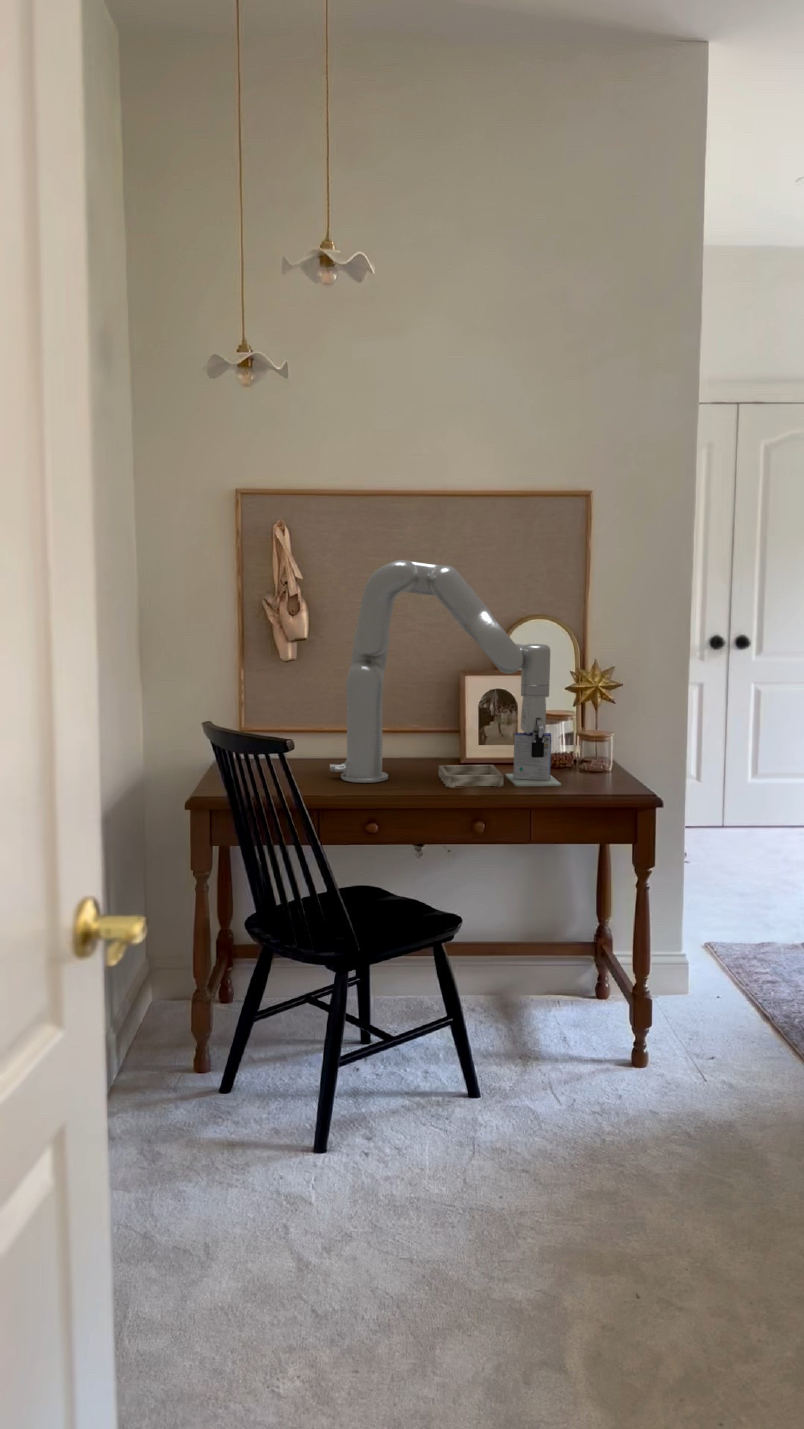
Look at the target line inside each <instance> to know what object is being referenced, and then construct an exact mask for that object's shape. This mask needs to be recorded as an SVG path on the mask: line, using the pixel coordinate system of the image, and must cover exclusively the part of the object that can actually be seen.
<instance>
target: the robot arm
mask: <svg viewBox="0 0 804 1429" xmlns="http://www.w3.org/2000/svg"><path fill="white" fill-rule="evenodd" d="M401 593H410V594H418V595H424V596H425V595H426V596H433V597H434V596H435V597H436V599H438V600H439V601H440V603H441V604H442V605H443V607H444V608H445V609H446V610H447V611H448V612H449V614H450V615H451V616H452V617H453V619H454V620H455V621H456V622H457V624H458V625H459V626H460V627H461V628H462V630H463V631H464V632H465V633H466V634H467V635H468V636H470V637H471V639H472V640H474V641H475V643H476V644H477V645H478V646H479V647H480V649H481V650H482V651H483V652H484V653H485V655H486V656H487V657H488V658H489V659H490V660H491V662H492V663H493V664H494V665H495V667H496V668H497V669H498V671H500V672H502V673H505V674H509V675H510V674H514V673H516V672H518V671H519V670H521V672H520V675H521V678H520V679H521V680H520V682H521V683H520V697H522V703H521V716H520V729H521V730H522V731H523V733H527V734H530V733H532V738H533V742H532V750H531V756H532V757H533V758H539V757H544V735H543V734H544V733H546V725H547V721H546V720H547V715H546V714H547V704H546V703H547V700H546V699H547V698H548V697H550V679H551V647H550V646H549V645H547V644H544V643H527V644H522V643H521V644H520V643H515V642H514V641H513V639H512V638H511V636H509V634H508V633H507V632H506V630H504V628H503V627H502V626H501V625H500V623H499V622H498V621H497V620H496V618H495V617H494V616H493V613H492V612H491V611H490V609H489V608H488V607H487V606H486V604H485V603H484V602H483V601H482V599H481V598H480V597H479V595H477V593H476V592H475V591H474V590H473V588H472V587H471V586H470V585H469V584H468V582H467V581H466V579H465V578H463V576H462V575H461V574H460V573H459V571H458V570H457V569H455V568H454V567H452V565H451V566H450V565H444V564H433V563H424V562H418V561H413V560H412V561H411V560H406V559H398V560H394V561H391V562H389V563H387V564H384V565H382V566H381V567H379V568H378V569H376V570H375V571H374V572H373V573H372V574H371V575H370V577H369V579H368V580H367V582H366V584H365V586H364V590H363V593H362V595H361V597H362V598H361V603H360V608H359V611H358V619H357V623H356V624H357V625H356V628H355V632H354V635H353V646H352V654H351V660H350V668H349V670H348V672H347V674H346V683H345V687H346V688H345V689H346V690H345V691H346V760H345V761H344V762H342V763H341V764H338V763H337V764H336V763H330V764H329V772H334V773H340V772H341V774H340V778H341V779H342V780H343V781H345V782H350V783H356V784H357V783H361V784H367V783H369V784H371V783H380V782H383V781H387V780H388V779H389V774H388V773H387V772H384V771H383V703H384V701H383V700H384V699H383V696H384V695H383V690H384V677H385V671H386V666H387V657H388V651H389V646H390V641H391V640H390V639H391V637H390V636H391V635H390V627H391V626H390V625H391V620H392V614H393V609H394V604H395V600H396V598H397V597H398V596H399V595H400V594H401ZM535 735H536V738H535Z"/></svg>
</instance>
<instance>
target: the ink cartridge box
mask: <svg viewBox="0 0 804 1429" xmlns="http://www.w3.org/2000/svg"><path fill="white" fill-rule="evenodd" d="M543 735H544V757H539V758H533V757H532V756H531V750H532V742H533V738H532V733H530V734H527V733H524V732H515V733H514V736H513V738H514V741H513V773H512V774H513V779H531V780H549V779H550V775H551V766H552V734H551V732H545V733H544V734H543ZM535 738H536V735H535Z"/></svg>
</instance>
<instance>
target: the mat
mask: <svg viewBox="0 0 804 1429" xmlns="http://www.w3.org/2000/svg"><path fill="white" fill-rule="evenodd" d="M505 777H506V778H507V779H508V780H509V781H510V782H511V783H512V784H513V785H514V786H515V787H562V783H561V782H560V781H559V780H557V779H556V778H555V777H554V776H552V775H551V774H550V779H549V780H531V779H513V773H505Z"/></svg>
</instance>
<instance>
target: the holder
mask: <svg viewBox="0 0 804 1429" xmlns="http://www.w3.org/2000/svg"><path fill="white" fill-rule="evenodd" d="M438 777H439V779H440V778H441V779H440V781H441V782H442V781H443V782H442V783H443V785H444V784H445V785H444V787H449V788H456V787H455V786H495V787H494V788H503V787H504V774H502V772H501V771H500V770H499V769H498V768H497V767H496V766H495V765H494V764H465V765H464V764H461V765H459V764H458V765H457V764H456V765H455V764H454V765H451V764H450V765H446V764H445V765H444V764H443V765H438ZM496 786H497V787H496ZM502 786H503V787H502Z"/></svg>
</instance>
